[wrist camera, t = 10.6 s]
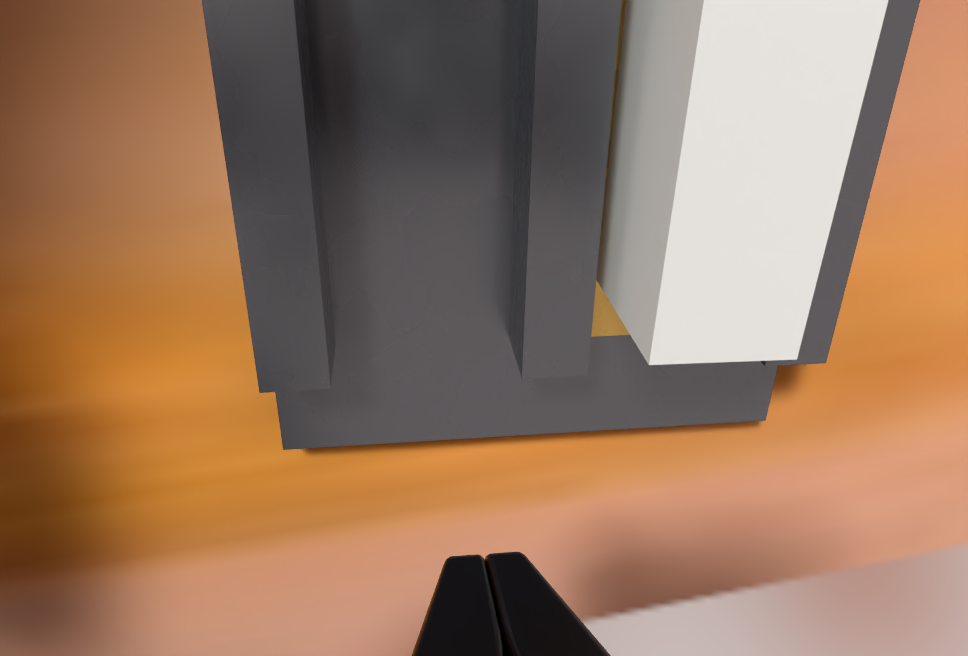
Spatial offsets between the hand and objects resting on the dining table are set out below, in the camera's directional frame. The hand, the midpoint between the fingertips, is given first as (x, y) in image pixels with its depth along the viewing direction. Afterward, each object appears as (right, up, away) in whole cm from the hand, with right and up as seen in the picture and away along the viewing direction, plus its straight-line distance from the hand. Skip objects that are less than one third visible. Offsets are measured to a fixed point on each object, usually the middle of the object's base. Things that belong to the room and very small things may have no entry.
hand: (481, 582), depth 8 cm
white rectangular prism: (+4, +7, +8) cm, 12 cm away
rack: (+1, +7, +9) cm, 12 cm away
